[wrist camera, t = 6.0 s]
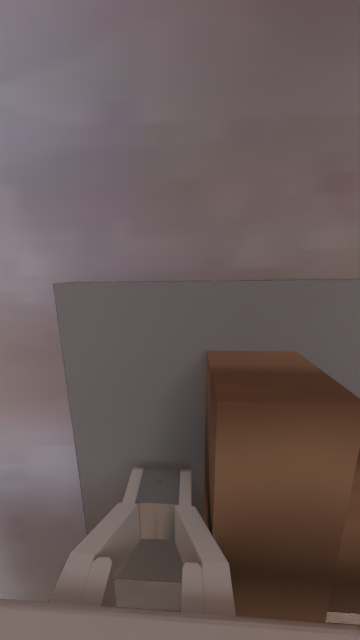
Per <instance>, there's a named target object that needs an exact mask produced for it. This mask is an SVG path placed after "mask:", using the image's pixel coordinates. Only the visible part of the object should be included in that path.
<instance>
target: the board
mask: <svg viewBox="0 0 360 640" xmlns="http://www.w3.org/2000/svg"><path fill="white" fill-rule="evenodd" d="M53 288H54V295H55V303H56V310H57V317H58V325H59V332H60V339H61V346H62V354H63V361H64V368H65V376H66V383H67V390H68V398H69V405H70V412H71V420H72V427H73V434H74V442H75V449H76V456H77V463H78V471H79V478H80V485H81V493H82V500H83V507H84V515H85V522H86V529H87V535H88V534H89V533H90V532H91V531H92V530H93V529H94V528H95V527H96V526H97V525H98V524H99V523H100V522H101V521H102V520H103V519H104V517H105V516H106V515H107V514H108V513H109V512H110V511H111V510H112V509H113V508H114V507H115V506H116V505H117V504H118V503H119V502H121V503H122V501H123V498H124V495H125V492H126V488H127V485H128V482H129V478H130V475H131V472H132V469H133V468H134V467H138V468H155V469H180V471H181V469H185V470H191V471H192V506H195V507H196V509H197V510H198V512H199V514H200V515H201V517H202V519H203V521H204V477H205V423H206V369H207V351H295V352H298V353H299V354H301V355H302V356H303V357H305V358H306V359H307V360H309V361H310V362H311V363H313V364H314V365H315V366H317V367H318V368H319V369H321V370H322V371H323V372H325V373H326V374H327V375H329V376H330V377H331V378H333V379H334V380H335V381H337V382H338V383H340V384H341V385H342V386H344V387H345V388H346V389H348V390H349V391H350V392H352V393H353V394H354V395H356V396H357V397H358V398H360V279H328V280H240V281H153V282H68V283H55V284H53ZM183 566H184V564H183V561H182V559H181V556H180V554H179V551H178V548H177V546H176V543H175V541H174V540H163V539H140V542H139V543H138V545H137V546H136V548H135V549H134V551H133V553H132V554H131V556H130V557H129V559H128V560H127V562H126V563H125V565H124V567H123V568H122V570H121V571H120V573H119V574H118V576H117V577H116V579H132V580H148V581H164V582H180V583H182V567H183Z"/></svg>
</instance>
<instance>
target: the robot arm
mask: <svg viewBox="0 0 360 640" xmlns="http://www.w3.org/2000/svg"><path fill="white" fill-rule="evenodd" d="M140 539H163V540H174V541H175V543H176V546H177V548H178V551H179V554H180V556H181V559H182V561H183V564H184V566H183V567H182V592H181V612H176V611H162V610H148V609H134V608H120V607H116V600H115V589H114V581H115V579H116V577H117V576H118V574H119V573H120V571H121V570H122V568H123V567H124V565H125V563H126V562H127V560H128V559H129V557H130V556H131V554H132V553H133V551H134V549H135V548H136V546H137V545H138V543H139V542H140ZM0 640H360V625H353V624H340V623H326V622H312V621H299V620H285V619H271V618H257V617H244V616H236V613H235V606H234V598H233V590H232V583H231V575H230V568H229V563H228V561H227V560H226V558H225V556H224V555H223V553H222V551H221V549H220V548H219V546H218V544H217V543H216V541H215V539H214V538H213V536H212V534H211V532H210V531H209V529H208V527H207V526H206V524H205V522H204V521H203V519H202V517H201V515H200V514H199V512H198V510H197V509H196V507H195V506H192V471H191V470H185V469H181V471H180V469H155V468H138V467H134V468H133V469H132V472H131V475H130V478H129V482H128V485H127V488H126V492H125V495H124V498H123V501H122V503H121V502H119V503H118V504H117V505H116V506H115V507H114V508H113V509H112V510H111V511H110V512H109V513H108V514H107V515H106V516H105V517H104V519H103V520H102V521H101V522H100V523H99V524H98V525H97V526H96V527H95V528H94V529H93V530H92V531H91V532H90V533H89V534H88V535H87V536H86V537H85V538H84V539H83V540H82V541H81V542H80V543H79V545H78V546H77V547H76V548H75V549H74V550H73V551H72V552H71V553H70V554H69V557H68V559H67V561H66V564H65V566H64V568H63V571H62V573H61V575H60V577H59V580H58V582H57V584H56V587H55V589H54V591H53V593H52V596H51V598H50V600H49V602H38V601H24V600H10V599H0Z"/></svg>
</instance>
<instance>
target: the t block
mask: <svg viewBox="0 0 360 640" xmlns="http://www.w3.org/2000/svg"><path fill="white" fill-rule="evenodd" d="M204 522H205V524H206V526H207V527H208V529H209V531H210V532H211V534H212V536H213V538H214V539H215V541H216V543H217V544H218V546H219V548H220V549H221V551H222V553H223V555H224V556H225V558H226V560H227V561H228V563H229V568H230V575H231V583H232V590H233V598H234V606H235V613H236V616H244V617H257V618H271V619H285V620H299V621H312V622H325V620H326V615H327V612H342V613H356V614H360V398H358V397H357V396H356V395H354V394H353V393H352V392H350V391H349V390H348V389H346V388H345V387H344V386H342V385H341V384H340V383H338V382H337V381H335V380H334V379H333V378H331V377H330V376H329V375H327V374H326V373H325V372H323V371H322V370H321V369H319V368H318V367H317V366H315V365H314V364H313V363H311V362H310V361H309V360H307V359H306V358H305V357H303V356H302V355H301V354H299V353H298V352H295V351H207V369H206V423H205V477H204Z"/></svg>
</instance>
